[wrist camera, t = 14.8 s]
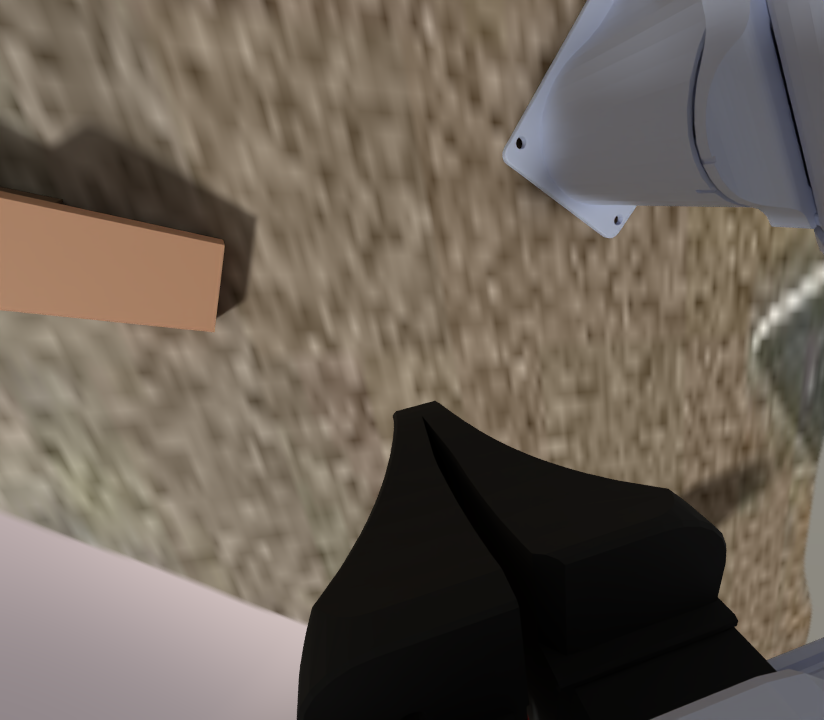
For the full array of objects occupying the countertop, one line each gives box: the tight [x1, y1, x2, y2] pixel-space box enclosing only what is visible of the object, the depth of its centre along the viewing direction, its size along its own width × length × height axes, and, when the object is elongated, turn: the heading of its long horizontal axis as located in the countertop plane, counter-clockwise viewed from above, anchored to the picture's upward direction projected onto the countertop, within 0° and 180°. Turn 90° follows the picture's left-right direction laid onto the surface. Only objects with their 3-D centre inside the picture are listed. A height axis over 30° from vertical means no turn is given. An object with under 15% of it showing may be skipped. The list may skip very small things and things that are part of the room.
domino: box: [0, 191, 225, 332], centre depth 16 cm, size 2×4×8 cm
